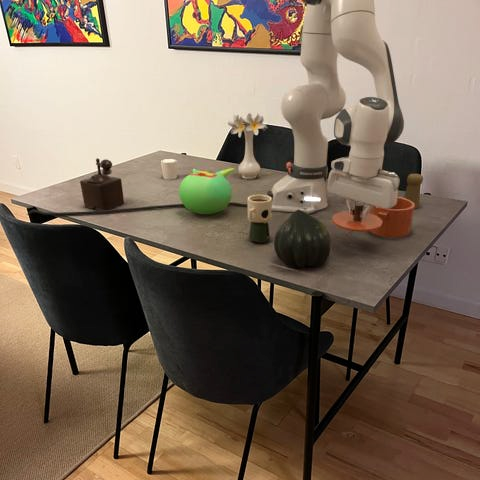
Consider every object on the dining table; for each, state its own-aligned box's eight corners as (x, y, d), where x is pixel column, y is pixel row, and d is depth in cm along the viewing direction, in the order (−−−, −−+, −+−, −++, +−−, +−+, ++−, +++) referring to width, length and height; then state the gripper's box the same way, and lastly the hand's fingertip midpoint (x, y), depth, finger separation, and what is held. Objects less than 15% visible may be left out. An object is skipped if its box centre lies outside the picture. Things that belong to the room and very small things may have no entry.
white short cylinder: (177, 179, 200) (176, 162, 196) (160, 180, 200) (159, 162, 196) (179, 175, 206) (178, 158, 202) (163, 175, 206) (161, 158, 202)
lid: (323, 226, 134) (325, 206, 131) (344, 211, 144) (346, 192, 141) (370, 237, 128) (374, 217, 125) (389, 221, 137) (392, 202, 134)
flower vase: (241, 170, 212) (241, 108, 198) (274, 177, 201) (275, 113, 188) (220, 176, 204) (218, 112, 190) (253, 184, 193) (253, 118, 179)
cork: (420, 209, 167) (426, 177, 161) (401, 208, 168) (407, 176, 162) (418, 203, 172) (424, 172, 166) (400, 202, 173) (405, 171, 167)
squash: (329, 261, 120) (332, 204, 122) (269, 260, 123) (273, 204, 125) (328, 276, 134) (331, 224, 136) (275, 274, 136) (278, 224, 139)
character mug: (260, 249, 140) (260, 205, 133) (239, 244, 144) (239, 201, 137) (278, 236, 148) (279, 195, 141) (258, 232, 151) (258, 191, 144)
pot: (358, 236, 147) (361, 207, 143) (379, 218, 160) (383, 191, 155) (398, 245, 141) (403, 215, 136) (417, 226, 154) (422, 198, 149)
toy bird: (172, 217, 163) (168, 173, 155) (193, 201, 176) (191, 160, 169) (222, 223, 158) (220, 178, 150) (239, 206, 171) (239, 164, 163)
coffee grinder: (82, 207, 173) (72, 156, 163) (104, 198, 180) (96, 149, 171) (113, 215, 165) (105, 162, 156) (135, 206, 173) (129, 154, 164)
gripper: (406, 171, 123) (397, 222, 130) (339, 156, 135) (334, 204, 142) (394, 176, 119) (384, 229, 127) (326, 160, 131) (321, 209, 139)
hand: (357, 216), depth 135 cm, fingers closed on lid, 2 cm apart
